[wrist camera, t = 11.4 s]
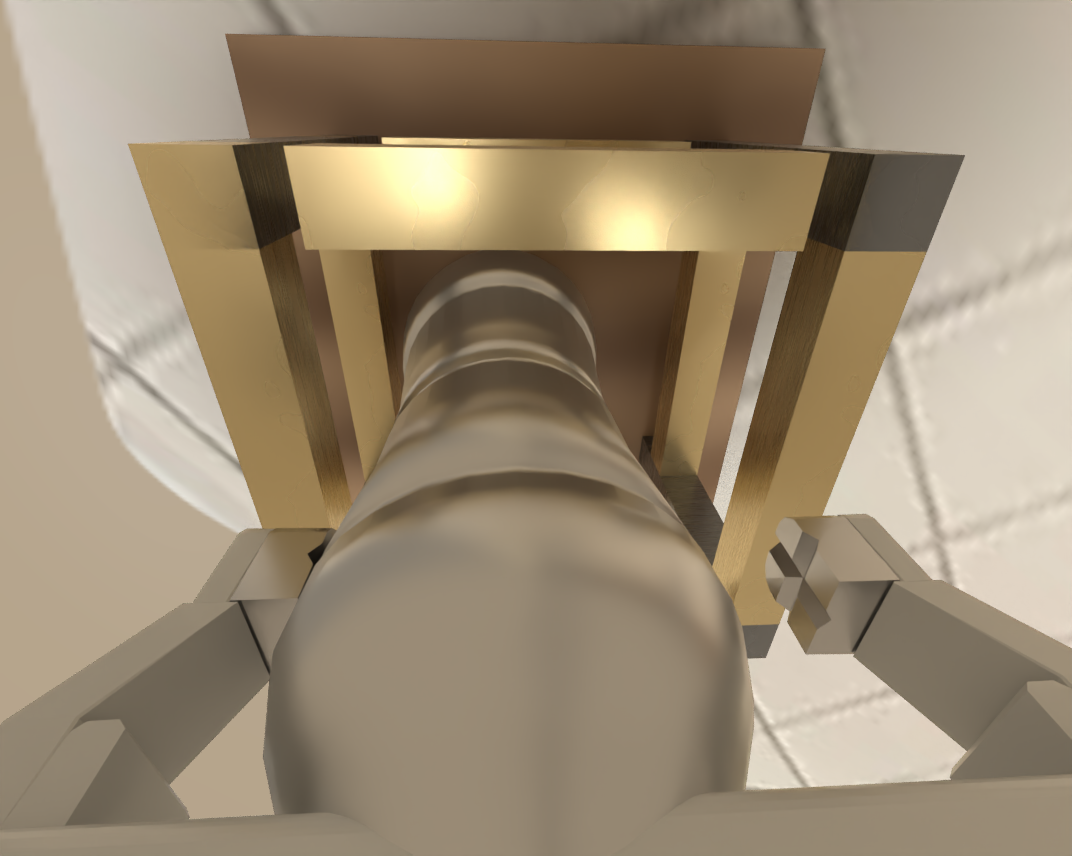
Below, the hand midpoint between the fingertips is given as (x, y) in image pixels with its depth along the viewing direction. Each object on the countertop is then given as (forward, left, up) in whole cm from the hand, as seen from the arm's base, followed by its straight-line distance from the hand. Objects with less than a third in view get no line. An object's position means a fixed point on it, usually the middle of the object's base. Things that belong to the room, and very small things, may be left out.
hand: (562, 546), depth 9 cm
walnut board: (0, 0, -13) cm, 13 cm away
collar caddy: (0, 0, -12) cm, 12 cm away
